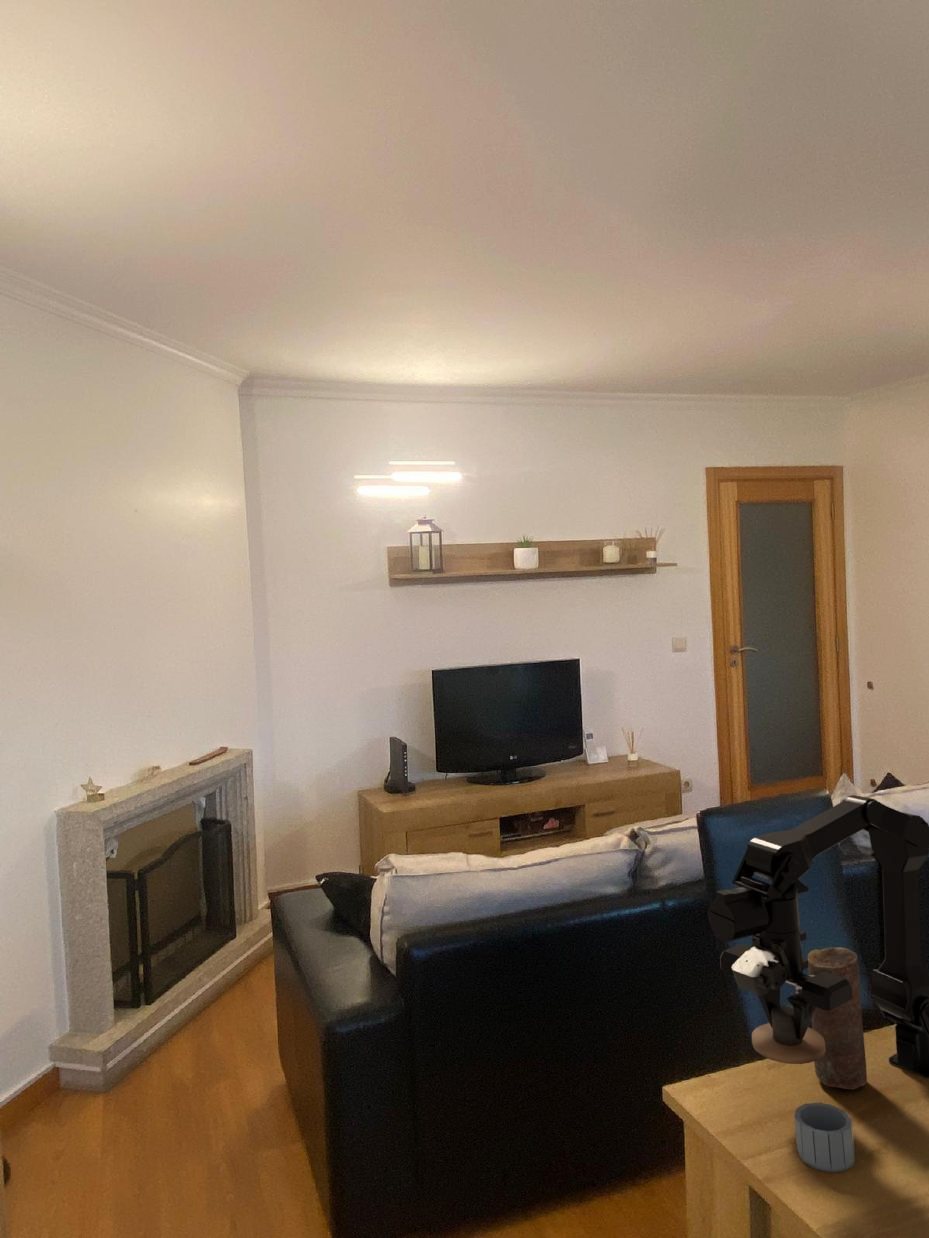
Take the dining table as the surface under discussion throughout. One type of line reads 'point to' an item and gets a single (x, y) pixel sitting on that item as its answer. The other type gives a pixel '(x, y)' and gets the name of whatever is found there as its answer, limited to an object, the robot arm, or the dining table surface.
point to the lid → (787, 1039)
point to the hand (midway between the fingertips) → (787, 1032)
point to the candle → (840, 1023)
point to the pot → (824, 1137)
